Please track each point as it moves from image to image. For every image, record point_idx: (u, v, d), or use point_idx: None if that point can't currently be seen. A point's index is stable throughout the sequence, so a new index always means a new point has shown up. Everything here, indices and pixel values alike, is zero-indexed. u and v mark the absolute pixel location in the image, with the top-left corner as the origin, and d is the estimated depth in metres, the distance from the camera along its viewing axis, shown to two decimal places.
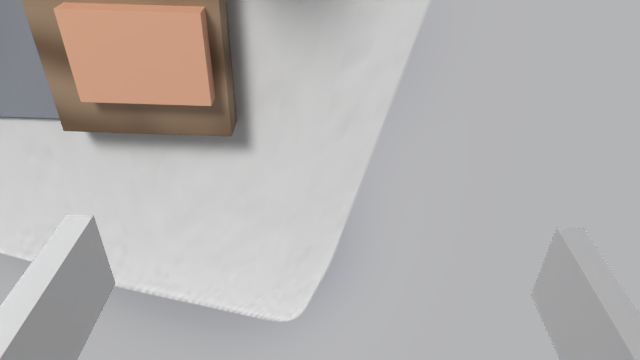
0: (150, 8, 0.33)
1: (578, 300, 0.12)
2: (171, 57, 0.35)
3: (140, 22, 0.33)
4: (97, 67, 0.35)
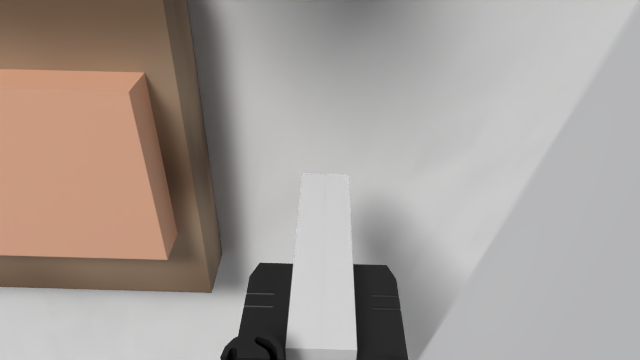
0: (21, 79, 0.15)
1: None
2: (76, 177, 0.16)
3: None
4: None
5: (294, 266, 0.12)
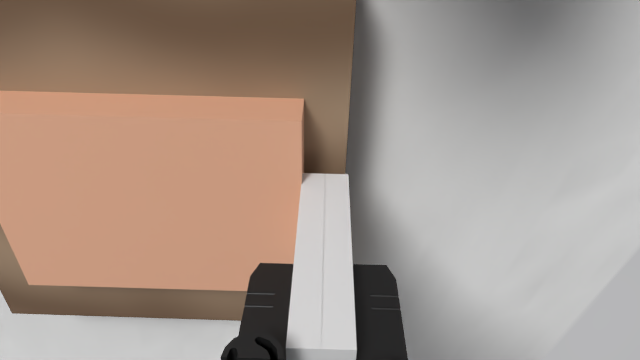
0: (180, 107, 0.14)
1: None
2: (225, 209, 0.15)
3: (157, 141, 0.14)
4: (60, 227, 0.16)
5: (294, 266, 0.12)
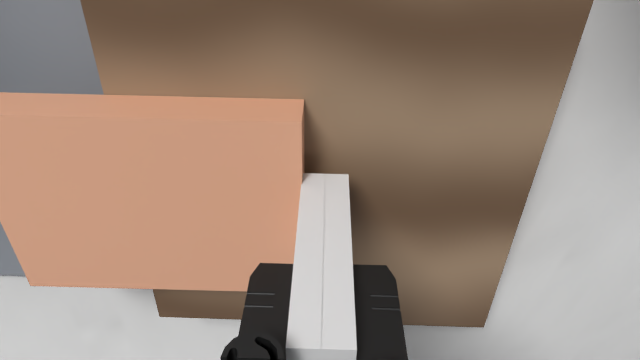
0: (180, 108, 0.14)
1: None
2: (225, 209, 0.15)
3: (157, 142, 0.14)
4: (61, 228, 0.16)
5: (294, 266, 0.12)
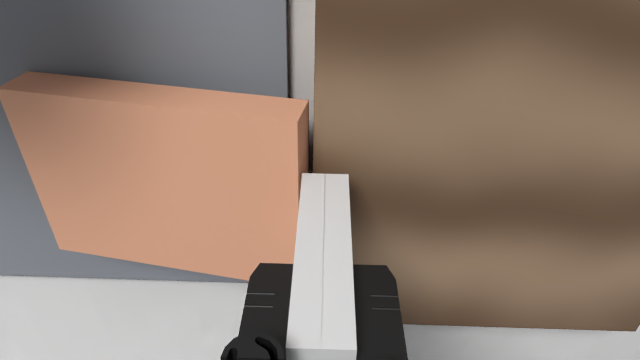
0: (190, 99, 0.15)
1: None
2: (227, 199, 0.16)
3: (166, 129, 0.15)
4: (85, 199, 0.18)
5: (294, 266, 0.12)
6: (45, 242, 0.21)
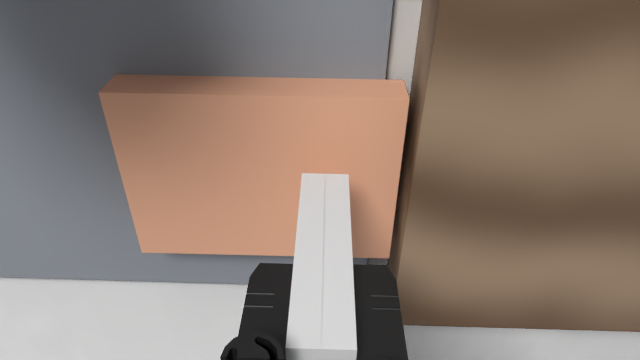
0: (298, 87, 0.16)
1: None
2: None
3: (278, 117, 0.16)
4: (179, 197, 0.18)
5: (294, 266, 0.12)
6: (122, 246, 0.21)
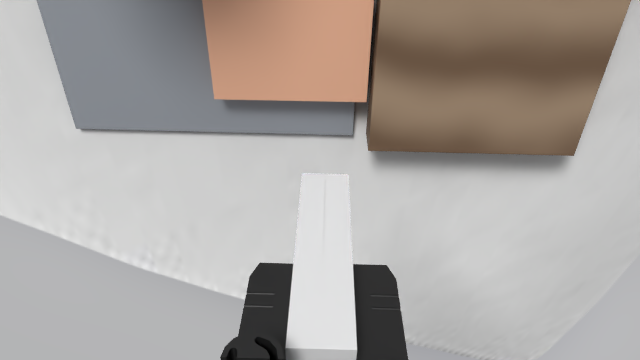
0: None
1: None
2: (330, 44, 0.29)
3: (301, 2, 0.28)
4: (240, 58, 0.30)
5: (294, 266, 0.12)
6: (198, 104, 0.33)
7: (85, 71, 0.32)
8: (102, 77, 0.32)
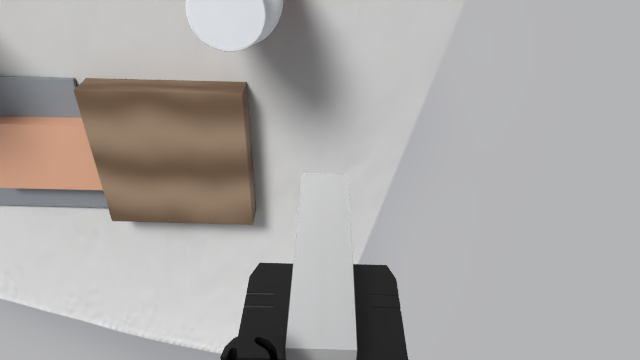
0: (47, 121, 0.43)
1: None
2: (66, 156, 0.44)
3: (39, 132, 0.43)
4: (10, 163, 0.45)
5: (294, 266, 0.12)
6: None
7: None
8: None
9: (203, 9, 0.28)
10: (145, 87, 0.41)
